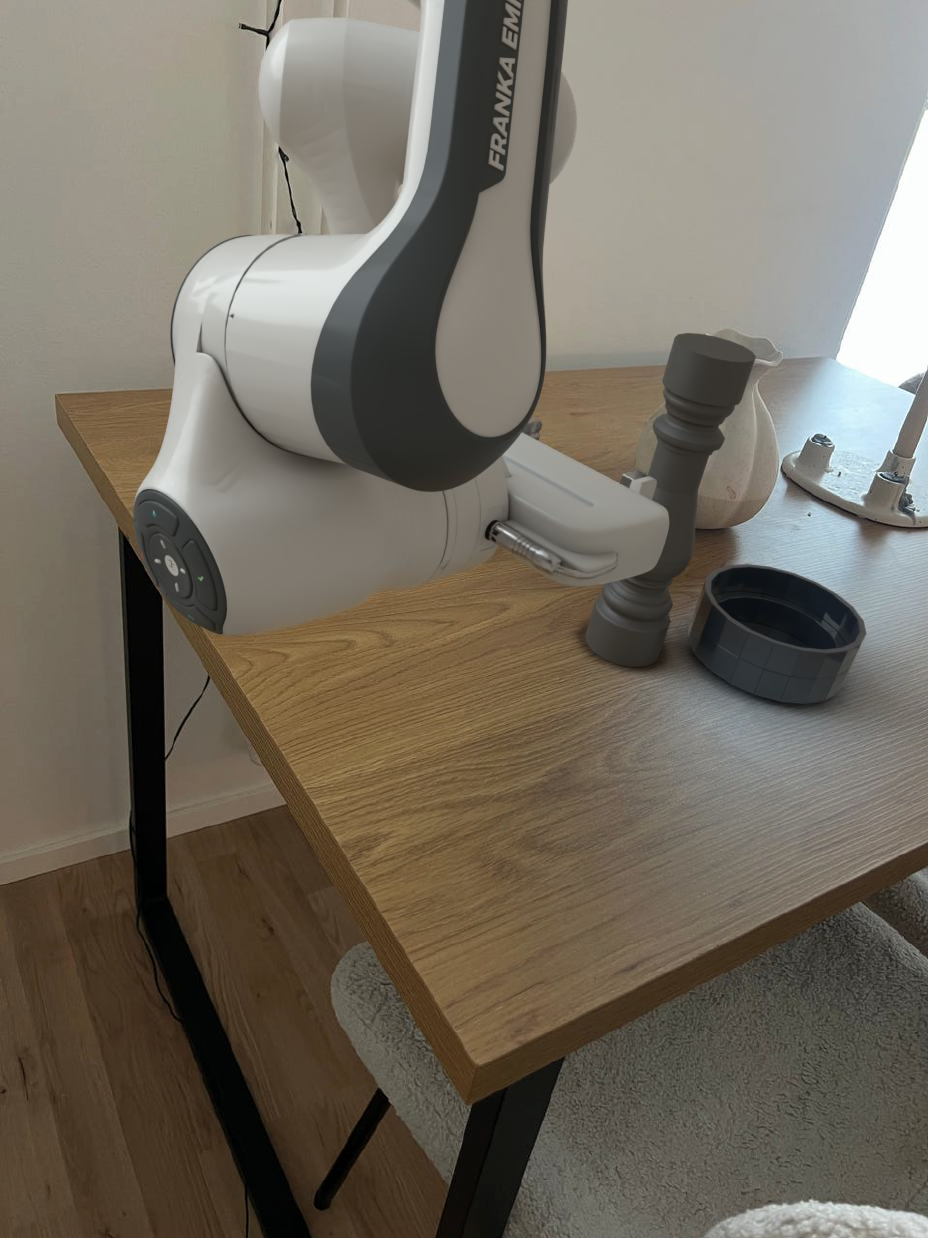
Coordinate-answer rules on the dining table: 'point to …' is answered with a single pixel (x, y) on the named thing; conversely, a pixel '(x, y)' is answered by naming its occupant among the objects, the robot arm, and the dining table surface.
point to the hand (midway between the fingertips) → (586, 456)
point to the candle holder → (673, 492)
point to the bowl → (775, 633)
